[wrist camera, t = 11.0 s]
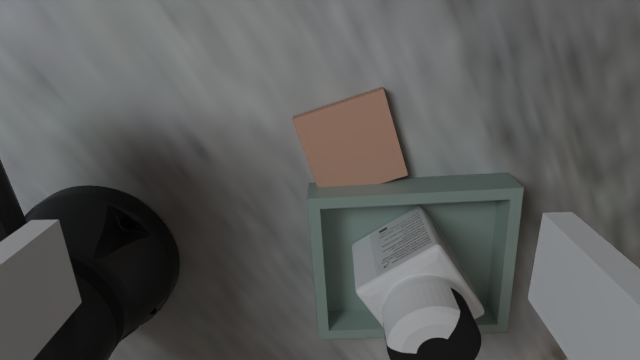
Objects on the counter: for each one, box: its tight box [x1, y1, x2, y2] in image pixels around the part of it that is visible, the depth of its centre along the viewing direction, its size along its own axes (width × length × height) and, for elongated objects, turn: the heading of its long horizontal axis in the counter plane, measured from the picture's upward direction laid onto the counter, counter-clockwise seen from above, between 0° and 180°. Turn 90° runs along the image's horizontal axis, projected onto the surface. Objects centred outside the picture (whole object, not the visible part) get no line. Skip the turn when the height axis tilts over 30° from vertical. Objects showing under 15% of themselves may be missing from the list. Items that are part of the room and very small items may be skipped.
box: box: [307, 173, 524, 340], centre depth 41 cm, size 18×15×4 cm
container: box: [352, 206, 484, 360], centre depth 36 cm, size 8×8×13 cm
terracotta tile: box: [292, 87, 408, 187], centre depth 38 cm, size 8×8×1 cm
